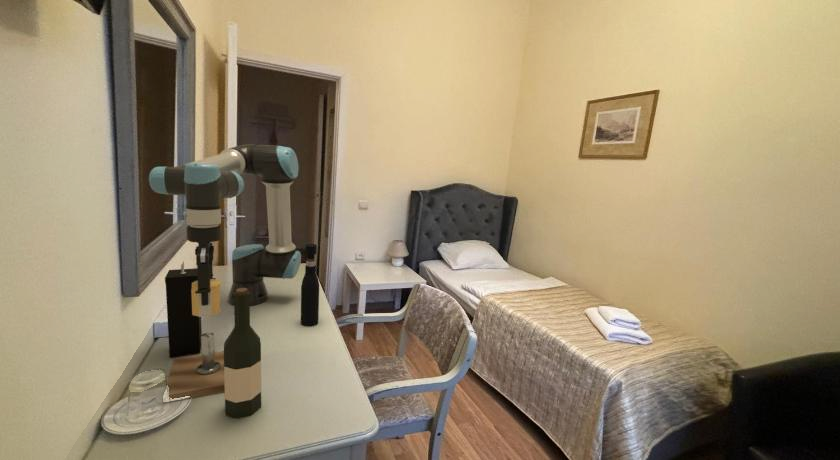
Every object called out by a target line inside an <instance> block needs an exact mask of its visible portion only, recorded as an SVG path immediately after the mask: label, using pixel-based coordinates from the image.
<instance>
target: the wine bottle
mask: <svg viewBox="0 0 840 460" xmlns="http://www.w3.org/2000/svg"><path fill="white" fill-rule="evenodd" d="M317 247H318V246H317V244H316V243H307V244H305V255H307V256H306V259H307V260H306V261H305V262H306V263H305V266H304V269H305V270H304V271H305V272H304V275H303V278H302V281H301V286H300V288H301V289H300V325H301V326H302V327H314V326H317V325H318V324H319V316H320V315H319V311H320V310H319V309H320V308H319V305H320V282H319V278H318V274H317V265H316V260H315V255H317V254H318V253H317Z"/></svg>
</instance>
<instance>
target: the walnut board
mask: <svg viewBox="0 0 840 460" xmlns="http://www.w3.org/2000/svg"><path fill="white" fill-rule="evenodd" d="M172 361H173V362H172V364H171V368H170V371H169V375H168V378H167V381H166V384H167V385H168V387H169V397H170V398H172V399H174V398H180V397H185V396H190V397H192V398H191V399H193V398H198V397H203V396H209V395H215V394H219V393H225V381H224V350H222V351H221V350H220V351H215V362H219V363H220V366H221V367H220V369H219V370H218V371H217V372H215V373H212V374H208V375H200V374H198V373H197V367H198V366H199V365H201V364H202V353H199V354H194V355H187V356H181V357H175V358H174V359H173V360H172Z"/></svg>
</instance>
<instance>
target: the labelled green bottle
mask: <svg viewBox="0 0 840 460" xmlns="http://www.w3.org/2000/svg"><path fill="white" fill-rule="evenodd" d="M233 306H234V307H233V308H234V309H233V310H234V327H233V328H232V330H231V332H230V333H229V335H228V336H227V338H226V339H225V341H224V342H223V351H224V381H225V392H224V409H225V410H224V411H225V412H224V413H225V416H227V417H230V418H232V419H235V420H237V419H241V418H245V417H247V418H248V417H251V416H252V415H254V414H255V413H256V412H257V411H259V410H260V409H261V408H262V342H261V337H260V336H259V335H258V333H256V331H255V329H254V328H252V326H251V318H250V317H251V316H250V315H251V314H250V313H251V311H250V310H251V309H250V295H249V291H247V288H239V289H236V292H235V293H234V305H233Z"/></svg>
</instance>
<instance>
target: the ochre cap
mask: <svg viewBox="0 0 840 460" xmlns="http://www.w3.org/2000/svg"><path fill="white" fill-rule="evenodd" d="M220 284H221V283H220V280H218V279H210V289H211V302H212V316H214V315H216V314H218V313H221V287H220V286H221V285H220ZM197 290H198V281H195V282H193V283H192V289H191V294H192V315H195V316H199V293H198V294H195V291H197Z"/></svg>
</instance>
